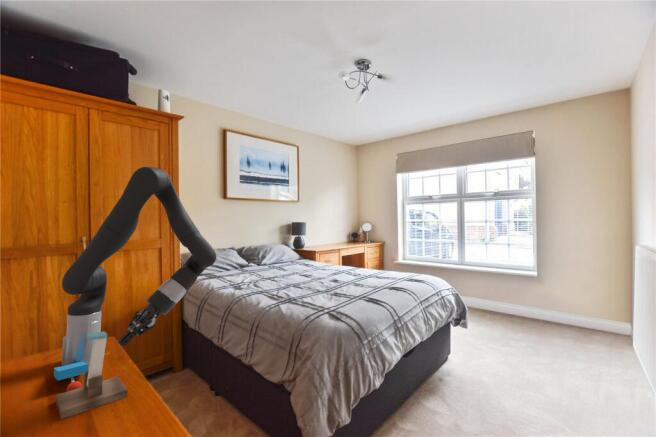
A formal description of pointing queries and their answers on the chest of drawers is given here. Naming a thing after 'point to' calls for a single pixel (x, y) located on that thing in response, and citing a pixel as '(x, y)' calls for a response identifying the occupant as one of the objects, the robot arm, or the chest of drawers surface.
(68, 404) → the catapult stand
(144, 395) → the chest of drawers surface
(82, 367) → the lever
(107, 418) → the chest of drawers surface
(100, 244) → the robot arm
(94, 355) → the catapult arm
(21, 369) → the chest of drawers surface
